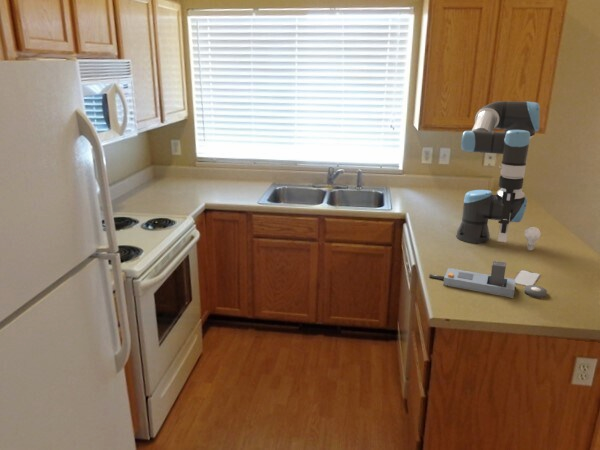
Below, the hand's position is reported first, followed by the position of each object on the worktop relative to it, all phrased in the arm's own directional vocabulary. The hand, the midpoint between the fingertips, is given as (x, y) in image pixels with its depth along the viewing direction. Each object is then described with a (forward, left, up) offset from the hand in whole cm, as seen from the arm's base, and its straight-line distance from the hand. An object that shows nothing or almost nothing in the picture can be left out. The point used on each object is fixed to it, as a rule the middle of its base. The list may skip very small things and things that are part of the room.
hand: (503, 235), depth 164 cm
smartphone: (-15, +10, -21) cm, 28 cm away
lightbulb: (-49, +11, -21) cm, 54 cm away
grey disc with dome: (-2, +13, -21) cm, 25 cm away
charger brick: (0, 0, -21) cm, 21 cm away
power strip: (0, -9, -21) cm, 22 cm away
